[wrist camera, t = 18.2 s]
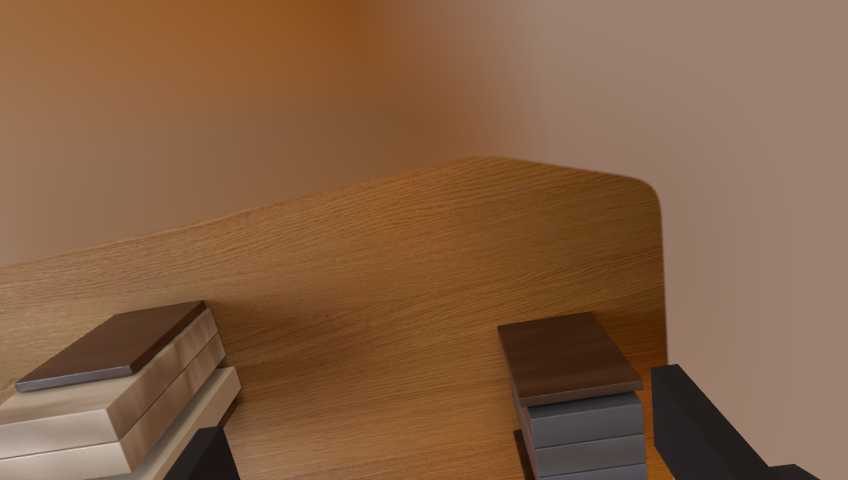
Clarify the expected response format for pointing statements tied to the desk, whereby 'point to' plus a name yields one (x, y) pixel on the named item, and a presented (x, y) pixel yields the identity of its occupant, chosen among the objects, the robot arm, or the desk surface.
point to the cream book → (187, 425)
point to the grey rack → (574, 401)
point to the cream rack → (109, 395)
